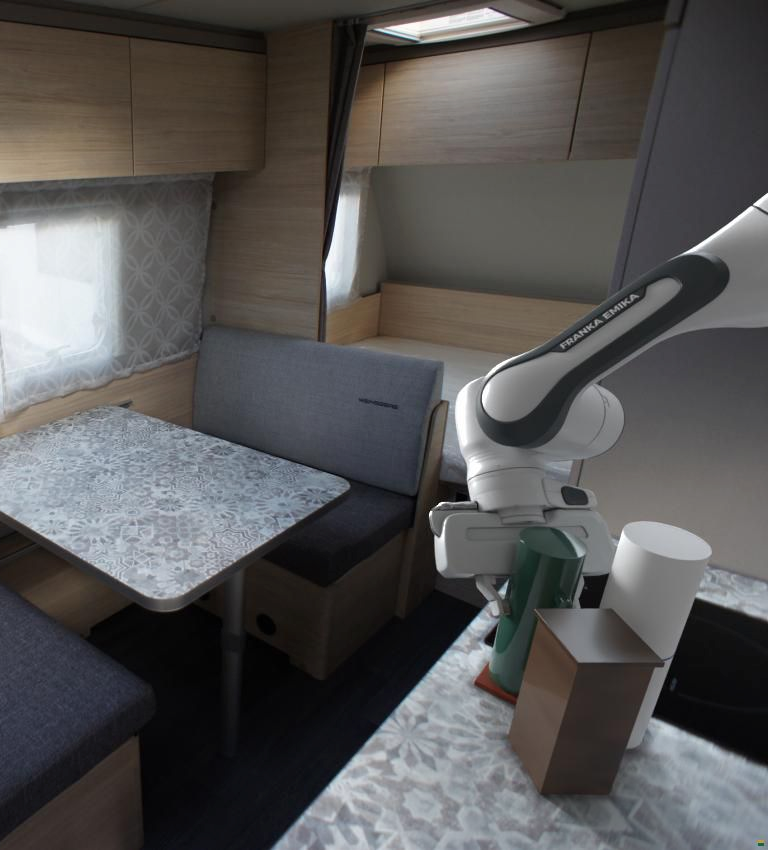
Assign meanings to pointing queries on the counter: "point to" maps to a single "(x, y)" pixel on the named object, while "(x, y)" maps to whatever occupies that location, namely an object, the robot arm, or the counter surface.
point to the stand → (580, 699)
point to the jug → (534, 597)
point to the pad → (493, 686)
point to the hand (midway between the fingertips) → (537, 615)
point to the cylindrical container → (655, 594)
